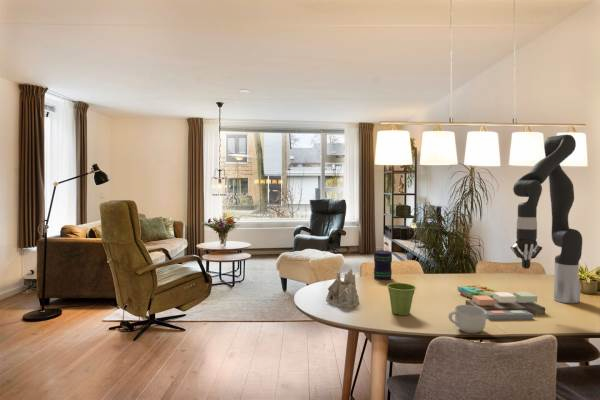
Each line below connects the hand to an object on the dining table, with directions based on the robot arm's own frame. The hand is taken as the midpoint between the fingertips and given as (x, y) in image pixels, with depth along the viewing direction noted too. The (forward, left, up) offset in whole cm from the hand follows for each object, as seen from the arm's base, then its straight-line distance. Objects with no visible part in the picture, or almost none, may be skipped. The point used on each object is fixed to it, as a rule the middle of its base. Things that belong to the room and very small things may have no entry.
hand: (525, 268), depth 177 cm
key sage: (0, 0, -13) cm, 13 cm away
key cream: (+9, 0, -13) cm, 16 cm away
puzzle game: (+10, -17, -18) cm, 27 cm away
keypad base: (+9, 0, -18) cm, 20 cm away
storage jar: (+47, -59, -18) cm, 78 cm away
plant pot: (+54, +3, -18) cm, 57 cm away
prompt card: (+13, +10, -18) cm, 24 cm away
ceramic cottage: (+77, -14, -18) cm, 80 cm away
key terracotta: (+18, 0, -15) cm, 23 cm away
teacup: (+36, +24, -18) cm, 47 cm away
